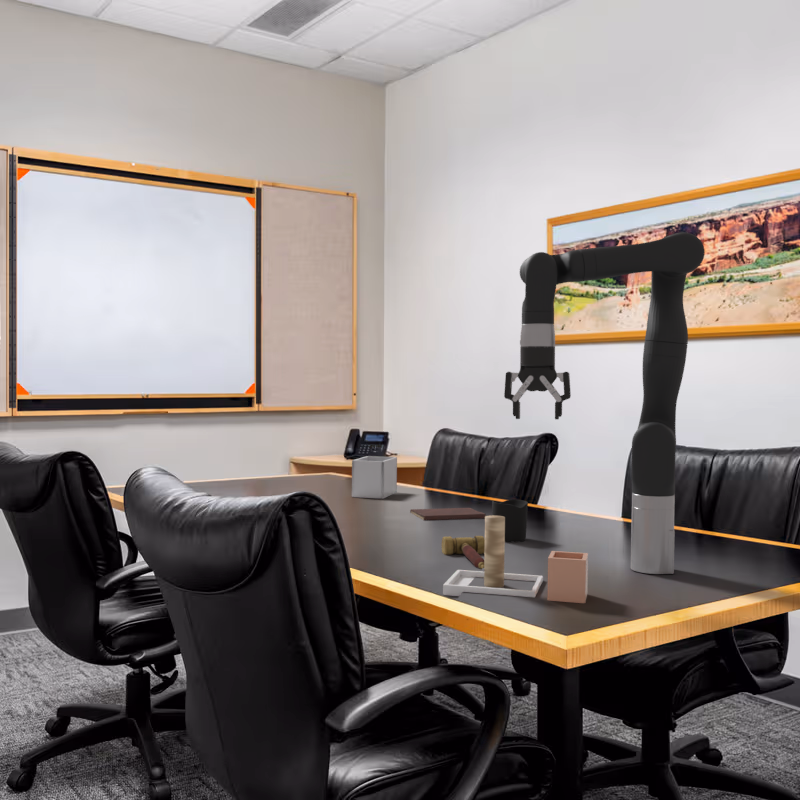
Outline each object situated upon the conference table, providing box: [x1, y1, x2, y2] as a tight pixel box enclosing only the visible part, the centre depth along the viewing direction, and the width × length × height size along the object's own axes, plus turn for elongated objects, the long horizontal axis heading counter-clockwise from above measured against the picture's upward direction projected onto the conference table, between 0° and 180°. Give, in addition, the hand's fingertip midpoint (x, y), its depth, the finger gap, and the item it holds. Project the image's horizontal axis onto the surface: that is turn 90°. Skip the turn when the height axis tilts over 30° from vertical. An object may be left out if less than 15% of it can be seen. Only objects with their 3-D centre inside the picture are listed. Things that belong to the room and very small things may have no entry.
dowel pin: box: [483, 514, 506, 588], centre depth 174 cm, size 4×4×14 cm
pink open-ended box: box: [546, 550, 589, 604], centre depth 165 cm, size 7×7×9 cm
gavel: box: [441, 535, 485, 570], centre depth 203 cm, size 21×5×10 cm
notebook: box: [409, 507, 487, 521], centre depth 268 cm, size 15×20×2 cm
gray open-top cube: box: [351, 455, 398, 499], centre depth 313 cm, size 12×18×13 cm, turn 165°
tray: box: [442, 569, 544, 598], centre depth 174 cm, size 18×14×2 cm
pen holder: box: [491, 499, 529, 543], centre depth 229 cm, size 9×9×10 cm
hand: (537, 419), depth 190 cm, fingers open, 8 cm apart
